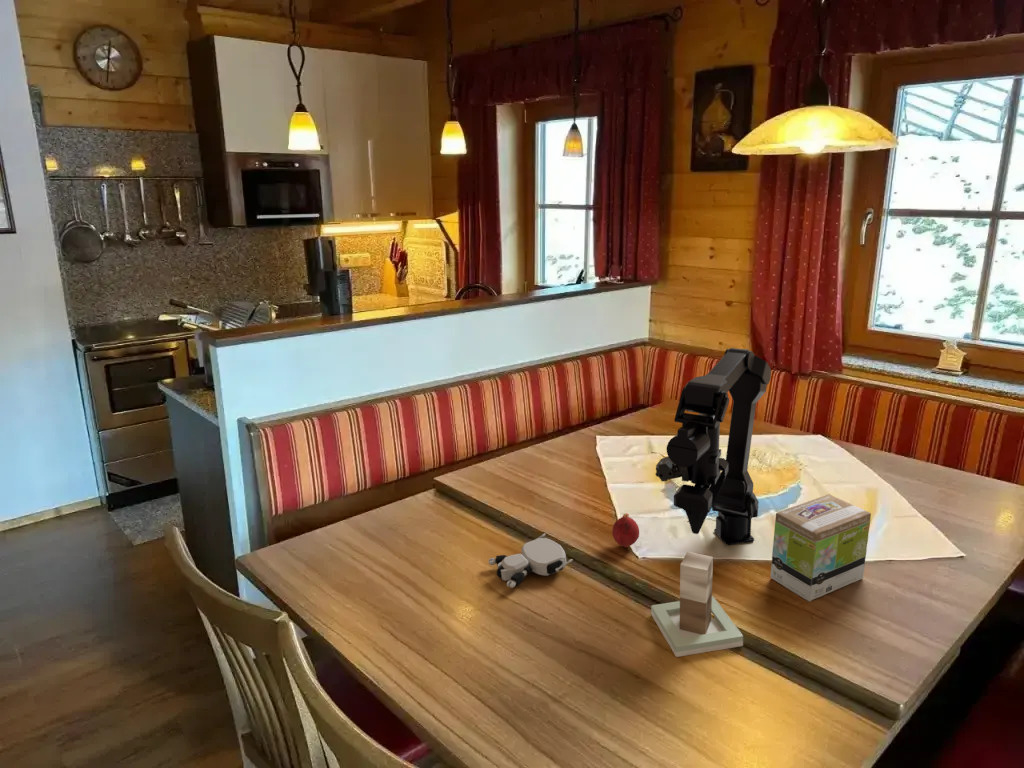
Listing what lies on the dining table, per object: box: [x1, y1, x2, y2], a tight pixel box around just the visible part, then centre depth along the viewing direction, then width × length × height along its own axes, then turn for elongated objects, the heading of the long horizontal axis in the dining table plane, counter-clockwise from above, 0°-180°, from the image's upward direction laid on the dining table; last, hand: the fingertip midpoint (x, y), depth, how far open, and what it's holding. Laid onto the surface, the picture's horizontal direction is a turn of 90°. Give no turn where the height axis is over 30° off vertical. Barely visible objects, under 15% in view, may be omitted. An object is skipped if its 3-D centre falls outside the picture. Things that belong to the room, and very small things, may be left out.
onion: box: [611, 512, 640, 548], centre depth 152 cm, size 6×6×8 cm
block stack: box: [679, 551, 714, 635], centre depth 123 cm, size 4×4×13 cm
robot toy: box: [488, 533, 574, 588], centre depth 146 cm, size 12×4×15 cm
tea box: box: [769, 494, 872, 602], centre depth 136 cm, size 15×10×15 cm, turn 117°
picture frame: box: [650, 595, 744, 658], centre depth 125 cm, size 12×12×2 cm
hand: (701, 522), depth 136 cm, fingers open, 9 cm apart
